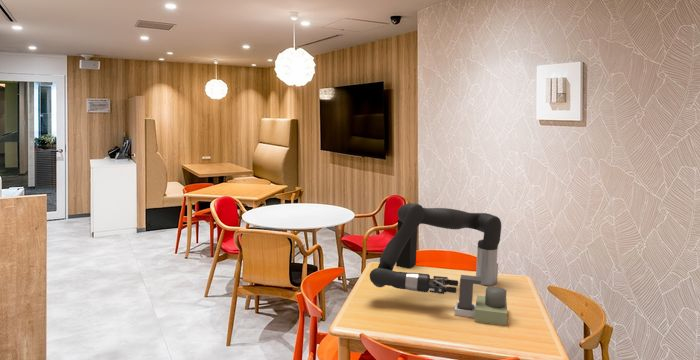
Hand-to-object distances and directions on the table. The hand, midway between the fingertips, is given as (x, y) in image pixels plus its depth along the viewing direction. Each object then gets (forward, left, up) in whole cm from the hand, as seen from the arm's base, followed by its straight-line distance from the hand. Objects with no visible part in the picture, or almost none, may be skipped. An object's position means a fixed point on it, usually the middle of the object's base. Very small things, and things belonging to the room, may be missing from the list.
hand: (457, 286), depth 209 cm
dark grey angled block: (-4, +4, -11) cm, 12 cm away
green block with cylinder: (-7, +7, -11) cm, 14 cm away
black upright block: (-16, -60, -11) cm, 62 cm away
